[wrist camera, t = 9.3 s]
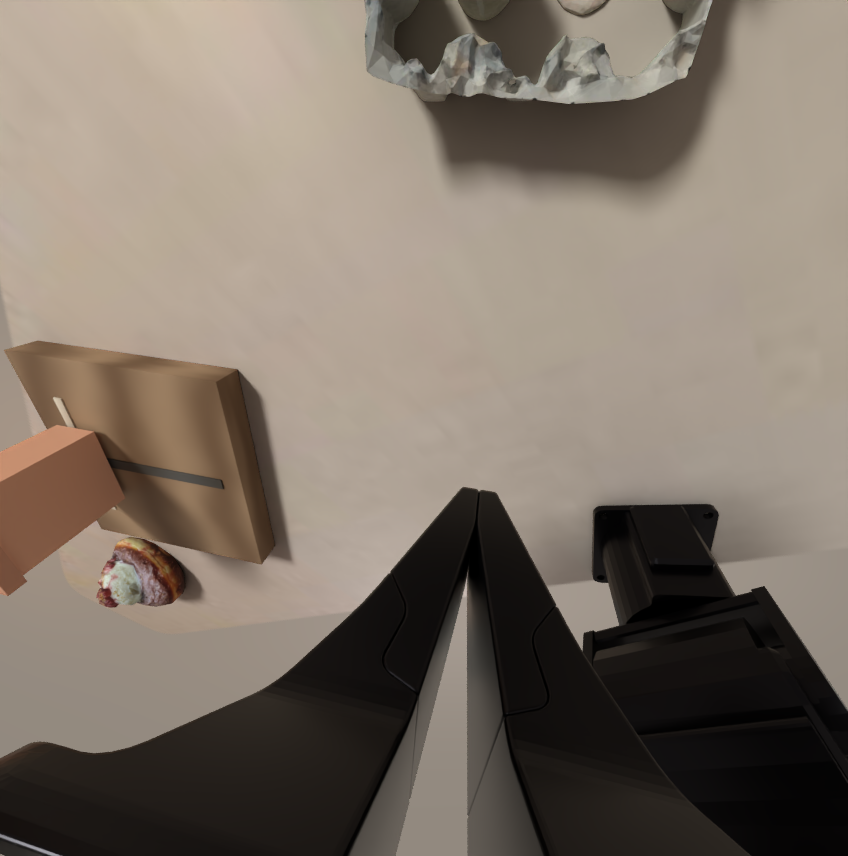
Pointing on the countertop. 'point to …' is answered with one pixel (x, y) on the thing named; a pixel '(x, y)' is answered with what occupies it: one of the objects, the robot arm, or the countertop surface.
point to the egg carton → (562, 71)
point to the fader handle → (50, 497)
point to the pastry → (140, 575)
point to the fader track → (160, 443)
